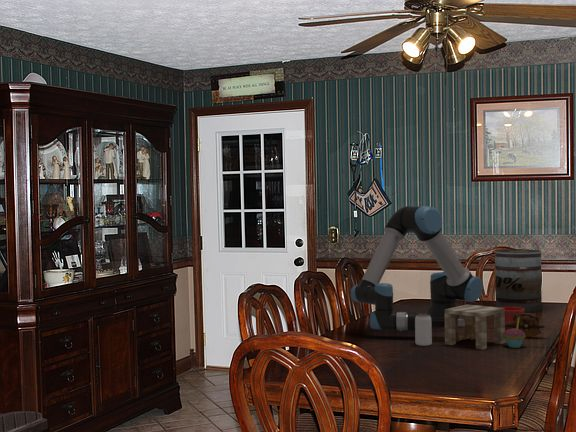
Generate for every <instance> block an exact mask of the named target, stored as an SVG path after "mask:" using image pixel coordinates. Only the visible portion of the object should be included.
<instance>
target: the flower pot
mask: <svg viewBox="0 0 576 432" xmlns="http://www.w3.org/2000/svg"><path fill="white" fill-rule="evenodd" d="M500 308H504V311H505V324H508V323H514V320H513V318H514V315H515V314H516V315H519V314H522V313H524V308H520V307H500ZM505 331H506V328H505Z"/></svg>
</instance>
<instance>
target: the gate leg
mask: <svg viewBox="0 0 576 432" xmlns="http://www.w3.org/2000/svg"><path fill="white" fill-rule="evenodd" d="M463 316H464V318H463V319H464V320H465V326H463V327H464V334H462V335H459V326H458V315H457V314H455V333H456V343H458V342H459V341H463V340H476V320H475V317H474V316H466V315H463Z"/></svg>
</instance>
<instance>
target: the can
mask: <svg viewBox="0 0 576 432" xmlns="http://www.w3.org/2000/svg"><path fill="white" fill-rule="evenodd" d="M432 328H433V327H432V325H431V317H430V314H428V313H417V314H416V318H415V331H414V333H415V334H414V335H415V336H414V339H415V345H416V346H420V347H429V346H431V345H432V342H433V340H432V339H433V335H432V333H433V331H432Z"/></svg>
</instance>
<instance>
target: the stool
mask: <svg viewBox="0 0 576 432" xmlns="http://www.w3.org/2000/svg"><path fill="white" fill-rule="evenodd" d="M455 314H457V315H460V316H464V315H466V316H474V317H475V320H476V339H475V349H477V350H486V349H487V348H488V346H487V345H488V344H487V343H488V340H487V339H488V336H487V333H488V332H487V317H488V316H493V332H494V333H493V334H494V335H493V336H494V337H493V338H494V341H493V342H494V344H499V345H502V344H505V343H506V339H505V338H504V337H503V332H504V331H505V311H504V308H498V307H496V306H488V305H487V306H485V305H475V304H474V305H473V304H464V305H459V306H457V307H454V308H449V309H445V327H444V344H445V345H448V346H453V345H456V344H457V342H456V333H455Z"/></svg>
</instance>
